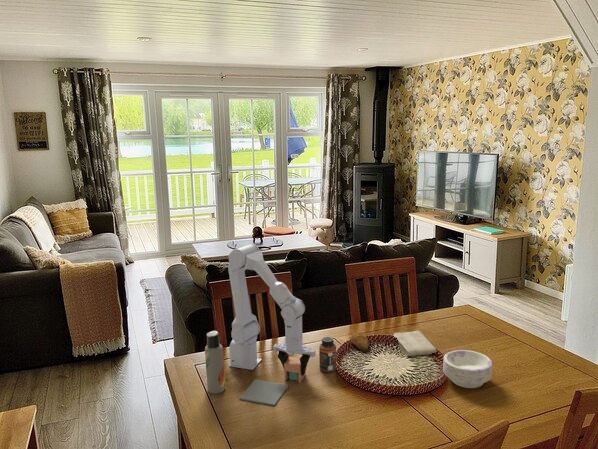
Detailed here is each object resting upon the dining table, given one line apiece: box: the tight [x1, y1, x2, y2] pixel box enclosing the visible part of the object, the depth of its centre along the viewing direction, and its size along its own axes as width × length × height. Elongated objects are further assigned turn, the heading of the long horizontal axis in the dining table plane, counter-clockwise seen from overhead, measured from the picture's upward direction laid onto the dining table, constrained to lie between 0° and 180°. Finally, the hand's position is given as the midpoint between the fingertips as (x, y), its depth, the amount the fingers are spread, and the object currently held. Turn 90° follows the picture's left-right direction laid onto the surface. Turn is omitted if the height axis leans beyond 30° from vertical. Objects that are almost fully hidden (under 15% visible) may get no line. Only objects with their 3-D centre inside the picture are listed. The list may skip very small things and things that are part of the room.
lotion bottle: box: [204, 330, 226, 395], centre depth 158 cm, size 6×6×20 cm
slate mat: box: [239, 379, 290, 407], centre depth 157 cm, size 12×12×1 cm
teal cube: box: [288, 372, 298, 381], centre depth 166 cm, size 3×3×3 cm
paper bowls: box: [442, 349, 493, 389], centre depth 160 cm, size 15×15×8 cm
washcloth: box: [392, 330, 437, 357], centre depth 188 cm, size 12×18×3 cm, turn 9°
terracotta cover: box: [283, 356, 306, 383], centre depth 165 cm, size 6×6×6 cm
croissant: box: [350, 332, 370, 352], centre depth 189 cm, size 14×7×5 cm, turn 14°
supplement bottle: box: [318, 336, 337, 373], centre depth 170 cm, size 6×6×11 cm
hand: (295, 372), depth 166 cm, fingers closed on terracotta cover, 5 cm apart
